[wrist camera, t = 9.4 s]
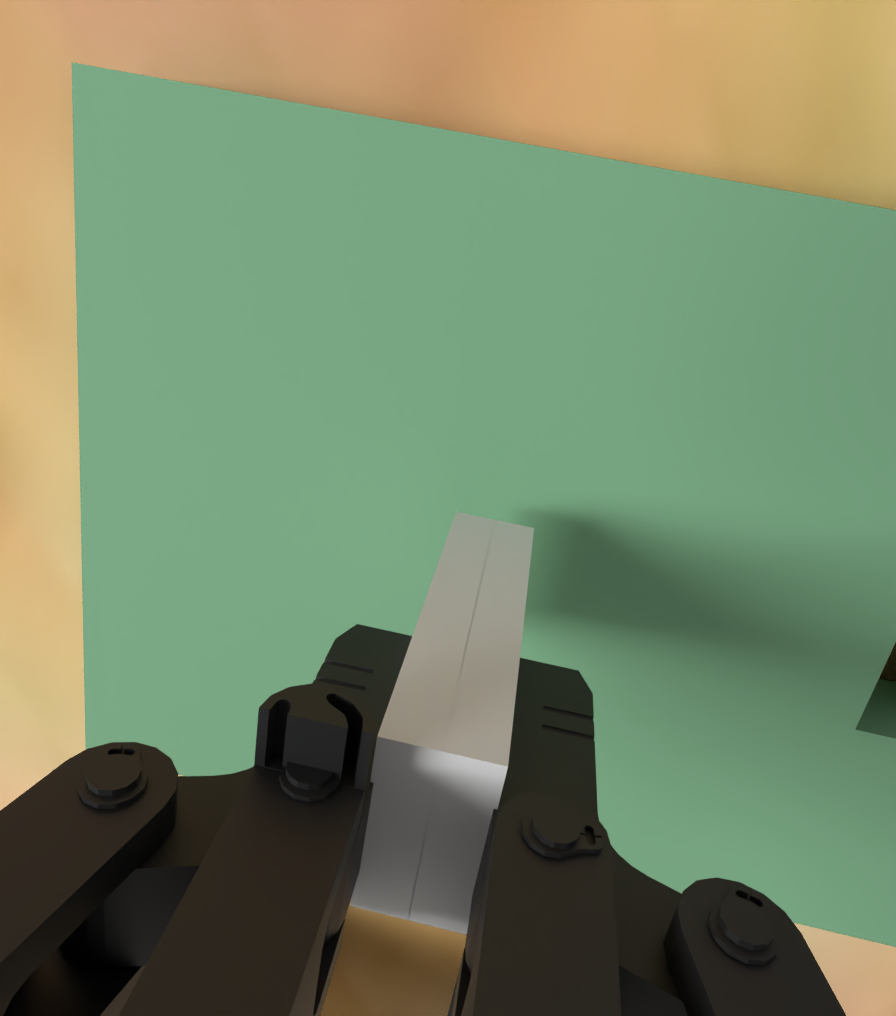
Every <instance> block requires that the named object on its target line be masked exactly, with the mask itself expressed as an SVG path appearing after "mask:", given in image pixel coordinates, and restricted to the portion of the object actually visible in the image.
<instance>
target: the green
mask: <svg viewBox="0 0 896 1016" xmlns="http://www.w3.org/2000/svg"><path fill="white" fill-rule="evenodd" d="M72 102H73V151H74V199H75V248H76V297H77V346H78V395H79V443H80V492H81V541H82V590H83V639H84V687H85V736H86V749H88V748H92V747H96V746H100V745H104V744H107V743H111V742H138V743H141V744H145V745H149V746H152V747H156V748H158V749H159V750H160V751H162V752H163V753H164V754H166V755H167V756H168V757H170V758H171V759H172V761H173V763H174V766H175V768H176V770H177V772H178V774H179V775H183V776H215V775H225V774H233V773H236V772H240V771H243V770H247V769H249V768H251V767H253V766H254V761H255V748H256V736H257V723H258V711H259V707H260V706H261V705H262V704H263V703H264V702H265V701H266V700H267V699H268V698H269V697H270V696H271V695H272V694H275V693H277V692H279V691H281V690H283V689H286V688H288V687H292V686H299V685H305V684H312V683H313V681H314V680H315V679H316V675H317V673H318V671H319V670H320V668H321V666H322V664H323V663H324V661H325V658H326V656H327V654H328V652H329V650H330V648H331V646H332V644H333V642H334V640H335V639H336V638H337V637H339V636H340V635H342V634H343V633H344V632H346V631H347V630H349V629H350V628H352V627H353V626H355V625H356V624H360V625H365V626H369V627H374V628H378V629H383V630H387V631H392V632H396V633H401V634H405V635H410V636H413V633H414V630H415V627H416V624H417V622H418V619H419V616H420V613H421V610H422V607H423V604H424V602H425V599H426V596H427V593H428V590H429V587H430V584H431V582H432V579H433V576H434V573H435V570H436V567H437V564H438V562H439V559H440V556H441V553H442V550H443V547H444V545H445V542H446V539H447V536H448V533H449V530H450V527H451V525H452V522H453V519H454V516H455V513H456V512H460V513H465V514H470V515H474V516H479V517H484V518H489V519H494V520H498V521H503V522H508V523H513V524H517V525H522V526H527V527H532V528H534V533H533V542H532V551H531V561H530V570H529V579H528V588H527V597H526V607H525V616H524V625H523V634H522V643H521V652H520V658H524V659H529V660H533V661H538V662H542V663H547V664H551V665H556V666H560V667H565V668H569V669H574V670H578V671H579V672H580V674H581V675H582V677H583V678H584V680H585V682H586V683H587V685H588V687H589V688H590V690H591V691H592V693H593V710H594V718H593V721H594V734H595V737H594V741H595V758H596V783H597V807H598V817H599V821H600V823H601V824H602V825H603V826H604V828H605V829H606V830H607V833H608V837H609V840H610V844H611V846H612V847H613V848H614V849H615V851H616V852H617V853H618V854H619V855H620V856H621V857H622V858H623V859H625V860H626V861H627V862H628V863H629V864H630V865H631V866H633V867H634V868H636V869H637V870H639V871H641V872H642V873H644V874H645V875H647V876H649V877H651V878H652V879H654V880H656V881H658V882H660V883H662V884H664V885H666V886H668V887H670V888H672V889H674V890H676V891H678V892H680V893H681V894H682V892H683V890H685V889H686V888H687V887H689V886H690V885H691V884H693V883H694V882H695V881H696V880H702V879H709V878H715V877H717V878H722V879H727V880H732V881H737V882H741V883H743V884H745V885H747V886H749V887H751V888H753V889H755V890H757V891H759V892H761V893H763V894H764V895H765V896H767V897H768V898H769V899H770V900H771V901H773V902H774V903H775V904H776V905H777V906H779V907H780V908H781V909H782V910H784V911H785V912H786V914H787V915H788V916H789V918H790V919H791V920H792V922H794V923H798V924H802V925H806V926H811V927H815V928H819V929H823V930H827V931H831V932H836V933H840V934H844V935H848V936H852V937H856V938H860V939H865V940H869V941H873V942H877V943H881V944H885V945H890V946H894V947H896V682H894V681H889V680H884V679H880V678H879V677H880V675H881V673H882V671H883V669H884V666H885V664H886V662H887V660H888V658H889V656H890V653H891V651H892V649H893V647H894V645H895V643H896V210H891V209H886V208H880V207H875V206H869V205H863V204H858V203H852V202H847V201H841V200H836V199H830V198H824V197H819V196H813V195H808V194H802V193H797V192H791V191H785V190H780V189H774V188H769V187H763V186H757V185H752V184H746V183H741V182H735V181H730V180H724V179H718V178H713V177H707V176H702V175H696V174H691V173H685V172H679V171H674V170H668V169H663V168H657V167H652V166H646V165H640V164H635V163H629V162H624V161H618V160H613V159H607V158H601V157H596V156H590V155H585V154H579V153H574V152H568V151H562V150H557V149H551V148H546V147H540V146H535V145H529V144H523V143H518V142H512V141H507V140H501V139H496V138H490V137H484V136H479V135H473V134H468V133H462V132H456V131H451V130H445V129H440V128H434V127H429V126H423V125H417V124H412V123H406V122H401V121H395V120H390V119H384V118H378V117H373V116H367V115H362V114H356V113H351V112H345V111H339V110H334V109H328V108H323V107H317V106H312V105H306V104H300V103H295V102H289V101H284V100H278V99H273V98H267V97H261V96H256V95H250V94H245V93H239V92H234V91H228V90H222V89H217V88H211V87H206V86H200V85H195V84H189V83H183V82H178V81H172V80H167V79H161V78H155V77H150V76H144V75H139V74H133V73H128V72H122V71H116V70H111V69H105V68H100V67H94V66H89V65H83V64H77V63H72Z"/></svg>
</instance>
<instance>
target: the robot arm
mask: <svg viewBox="0 0 896 1016" xmlns="http://www.w3.org/2000/svg"><path fill="white" fill-rule="evenodd" d="M533 533H534V528H532V527H527V526H522V525H517V524H513V523H508V522H503V521H498V520H494V519H489V518H484V517H479V516H474V515H470V514H465V513H460V512H456V513H455V516H454V519H453V522H452V525H451V527H450V530H449V533H448V536H447V539H446V542H445V545H444V547H443V550H442V553H441V556H440V559H439V562H438V564H437V567H436V570H435V573H434V576H433V579H432V582H431V584H430V587H429V590H428V593H427V596H426V599H425V602H424V604H423V607H422V610H421V613H420V616H419V619H418V622H417V624H416V627H415V630H414V633H413V636H410V635H405V634H401V633H396V632H392V631H387V630H383V629H378V628H374V627H369V626H365V625H360V624H356V625H355V626H353V627H352V628H350V629H349V630H347V631H346V632H344V633H343V634H342V635H340V636H339V637H337V638H336V639H335V640H334V642H333V644H332V646H331V648H330V650H329V652H328V654H327V656H326V658H325V661H324V663H323V664H322V666H321V668H320V670H319V671H318V673H317V675H316V679H315V680H314V681H313V683H312V684H305V685H299V686H292V687H288V688H286V689H283V690H281V691H279V692H277V693H275V694H272V695H271V696H270V697H269V698H268V699H267V700H266V701H265V702H264V703H263V704H262V705H261V706H260V707H259V711H258V723H257V736H256V748H255V761H254V766H253V767H251V768H249V769H247V770H243V771H240V772H236V773H233V774H225V775H215V776H178V772H177V770H176V768H175V766H174V763H173V761H172V759H171V758H170V757H168V756H167V755H166V754H164V753H163V752H162V751H160V750H159V749H158V748H156V747H152V746H149V745H145V744H141V743H138V742H111V743H107V744H104V745H100V746H96V747H92V748H88V749H86V750H85V751H83V752H81V753H79V754H77V755H76V756H74V757H72V758H70V759H68V760H67V761H65V762H64V763H63V764H61V765H60V766H59V767H57V768H56V769H55V770H53V771H52V772H51V773H50V774H48V775H47V776H46V777H44V778H43V779H42V780H40V781H39V782H38V783H36V784H35V785H34V786H32V787H31V788H30V789H28V790H27V791H26V792H24V793H23V794H22V795H21V796H19V797H18V798H17V799H15V800H14V801H13V802H11V803H10V804H9V805H7V806H6V807H5V808H3V809H2V810H1V811H0V1016H320V1014H321V1010H322V1007H323V1004H324V1000H325V997H326V994H327V990H328V987H329V984H330V980H331V977H332V974H333V970H334V967H335V964H336V960H337V957H338V953H339V950H340V947H341V940H342V934H343V928H344V921H345V916H346V913H347V910H348V907H349V903H350V900H351V905H350V906H353V907H357V908H361V909H365V910H369V911H373V912H377V913H381V914H385V915H389V916H393V917H397V918H401V919H405V920H409V921H413V922H417V923H422V924H426V925H430V926H434V927H438V928H442V929H446V930H450V931H454V932H458V933H462V934H467V937H466V944H465V949H464V953H463V957H462V961H461V965H460V969H459V973H458V977H457V981H456V985H455V989H454V993H453V997H452V1001H451V1005H450V1009H449V1013H448V1016H846V1015H845V1013H844V1011H843V1009H842V1007H841V1005H840V1004H839V1002H838V1000H837V998H836V996H835V994H834V993H833V991H832V989H831V987H830V985H829V983H828V982H827V980H826V978H825V976H824V974H823V972H822V971H821V969H820V967H819V965H818V963H817V961H816V960H815V958H814V956H813V954H812V952H811V950H810V949H809V947H808V945H807V943H806V941H805V939H804V938H803V936H802V934H801V933H800V931H799V930H798V928H797V927H796V926H795V924H794V923H793V922H792V920H791V919H790V918H789V916H788V915H787V914H786V912H785V911H784V910H782V909H781V908H780V907H779V906H777V905H776V904H775V903H774V902H773V901H771V900H770V899H769V898H768V897H767V896H765V895H764V894H763V893H761V892H759V891H757V890H755V889H753V888H751V887H749V886H747V885H745V884H743V883H741V882H737V881H732V880H727V879H722V878H717V877H715V878H709V879H702V880H696V881H695V882H694V883H693V884H691V885H690V886H689V887H687V888H686V889H685V890H683V892H682V894H681V893H680V892H678V891H676V890H674V889H672V888H670V887H668V886H666V885H664V884H662V883H660V882H658V881H656V880H654V879H652V878H651V877H649V876H647V875H645V874H644V873H642V872H641V871H639V870H637V869H636V868H634V867H633V866H631V865H630V864H629V863H628V862H627V861H626V860H625V859H623V858H622V857H621V856H620V855H619V854H618V853H617V852H616V851H615V849H614V848H613V847H612V846H611V844H610V840H609V837H608V833H607V830H606V829H605V828H604V826H603V825H602V824H601V823H600V821H599V817H598V807H597V783H596V758H595V741H594V737H595V734H594V721H593V718H594V710H593V693H592V691H591V690H590V688H589V687H588V685H587V683H586V682H585V680H584V678H583V677H582V675H581V674H580V672H579V671H578V670H574V669H569V668H565V667H560V666H556V665H551V664H547V663H542V662H538V661H533V660H529V659H524V658H520V652H521V643H522V634H523V625H524V616H525V607H526V597H527V588H528V579H529V570H530V561H531V551H532V542H533ZM351 897H352V899H351Z"/></svg>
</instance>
